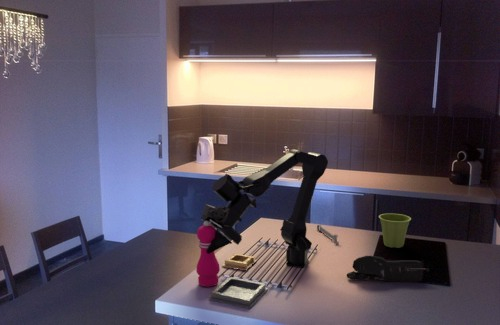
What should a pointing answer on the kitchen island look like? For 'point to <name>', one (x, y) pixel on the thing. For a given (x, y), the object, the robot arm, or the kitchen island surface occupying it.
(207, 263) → the pepper mill
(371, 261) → the black glove
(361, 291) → the kitchen island surface
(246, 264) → the brass square tray
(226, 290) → the graphite square tray
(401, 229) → the plant pot
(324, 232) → the combination wrench
